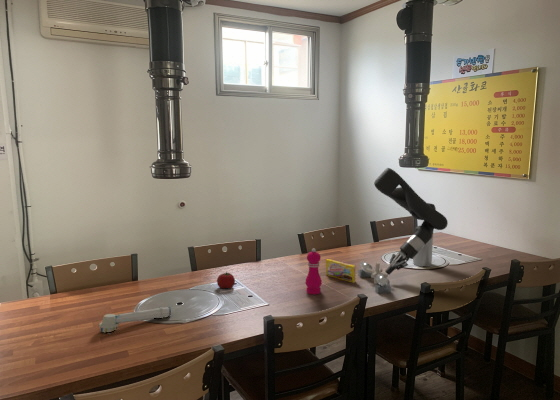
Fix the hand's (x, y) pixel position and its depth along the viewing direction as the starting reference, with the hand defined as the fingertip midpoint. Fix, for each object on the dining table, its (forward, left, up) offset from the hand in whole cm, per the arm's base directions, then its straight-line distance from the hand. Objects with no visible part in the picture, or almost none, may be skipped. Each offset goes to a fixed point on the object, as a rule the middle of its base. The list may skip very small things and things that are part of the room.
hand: (386, 273), depth 190 cm
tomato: (-9, -75, -5) cm, 75 cm away
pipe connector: (0, -5, -5) cm, 7 cm away
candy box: (-10, -20, -5) cm, 22 cm away
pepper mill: (+4, -37, -5) cm, 37 cm away
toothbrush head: (+22, -109, -5) cm, 112 cm away
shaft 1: (-9, -7, -5) cm, 12 cm away
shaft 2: (+10, -7, -5) cm, 13 cm away
